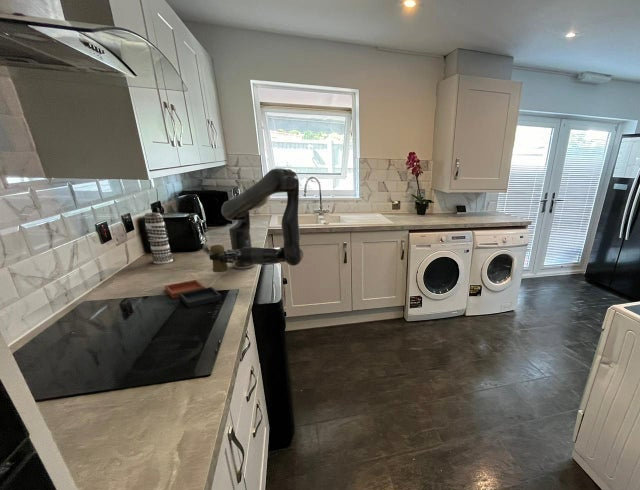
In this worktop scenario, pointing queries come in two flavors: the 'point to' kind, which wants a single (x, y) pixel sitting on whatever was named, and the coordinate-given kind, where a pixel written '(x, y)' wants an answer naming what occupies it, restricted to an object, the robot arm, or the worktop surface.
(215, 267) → the cork
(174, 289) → the terracotta tray
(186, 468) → the worktop surface
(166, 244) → the white patterned cylinder
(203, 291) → the charcoal tray
